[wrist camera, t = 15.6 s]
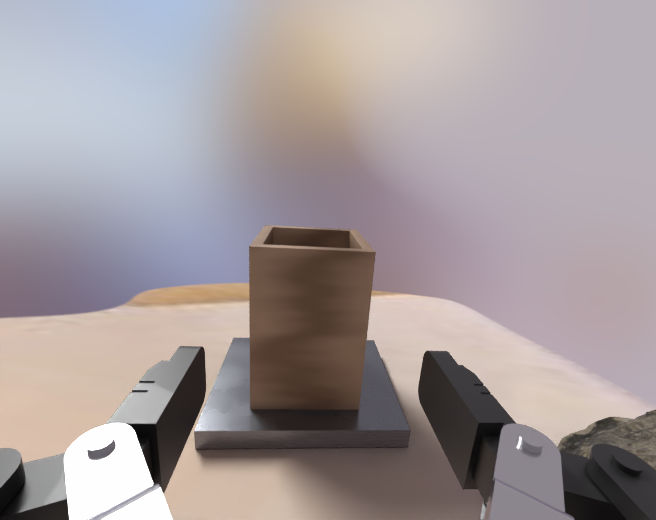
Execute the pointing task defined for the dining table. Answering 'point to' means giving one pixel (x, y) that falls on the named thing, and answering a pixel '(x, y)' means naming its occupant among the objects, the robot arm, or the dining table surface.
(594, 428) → the fossil
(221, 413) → the post plate
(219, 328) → the dining table surface
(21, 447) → the dining table surface
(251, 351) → the walnut sleeve
